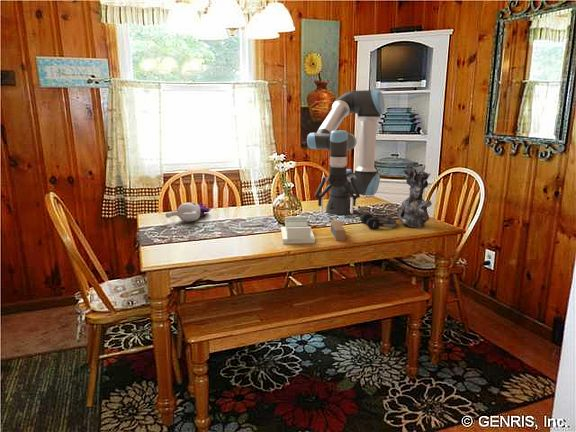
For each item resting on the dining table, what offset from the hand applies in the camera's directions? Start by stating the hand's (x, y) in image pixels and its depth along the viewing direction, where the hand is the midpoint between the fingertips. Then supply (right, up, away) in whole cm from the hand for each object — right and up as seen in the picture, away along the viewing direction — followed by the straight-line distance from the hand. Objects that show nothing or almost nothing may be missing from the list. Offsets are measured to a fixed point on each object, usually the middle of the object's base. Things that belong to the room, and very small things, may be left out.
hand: (336, 213), depth 199 cm
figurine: (-71, -4, +29) cm, 77 cm away
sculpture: (+40, -6, +19) cm, 45 cm away
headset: (+22, -6, +19) cm, 30 cm away
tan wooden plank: (+1, -10, +3) cm, 11 cm away
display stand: (-18, -11, +1) cm, 21 cm away
